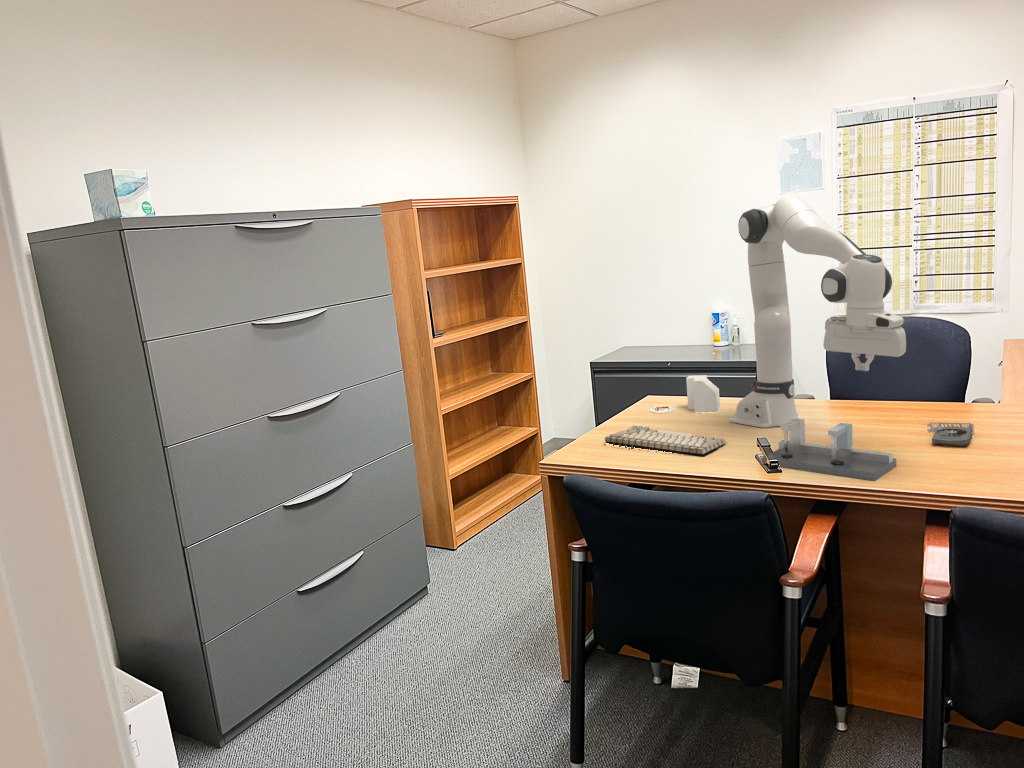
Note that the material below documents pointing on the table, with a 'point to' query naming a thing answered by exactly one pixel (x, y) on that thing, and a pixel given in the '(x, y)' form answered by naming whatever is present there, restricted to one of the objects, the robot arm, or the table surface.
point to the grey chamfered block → (702, 394)
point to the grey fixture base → (829, 456)
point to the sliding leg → (841, 437)
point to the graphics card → (951, 433)
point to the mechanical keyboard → (666, 441)
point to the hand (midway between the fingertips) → (862, 370)
